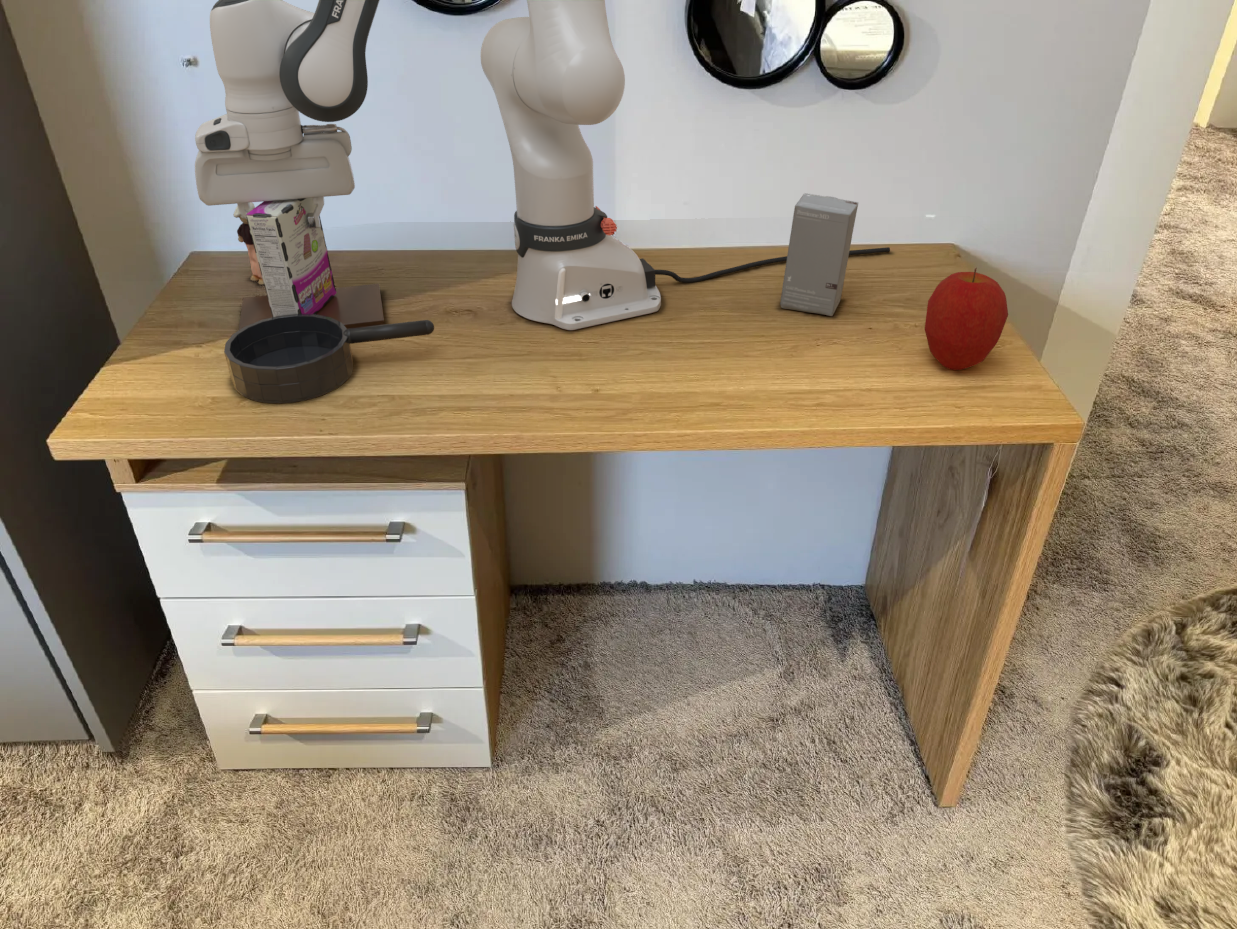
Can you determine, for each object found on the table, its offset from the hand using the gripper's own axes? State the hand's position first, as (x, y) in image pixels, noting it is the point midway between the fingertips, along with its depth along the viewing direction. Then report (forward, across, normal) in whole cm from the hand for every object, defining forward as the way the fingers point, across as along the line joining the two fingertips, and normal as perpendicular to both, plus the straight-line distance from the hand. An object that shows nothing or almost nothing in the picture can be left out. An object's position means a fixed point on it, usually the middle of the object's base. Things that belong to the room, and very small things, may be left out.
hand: (286, 229), depth 133 cm
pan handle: (+10, -12, +17) cm, 23 cm away
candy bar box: (+12, 0, 0) cm, 12 cm away
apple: (+13, -86, +36) cm, 94 cm away
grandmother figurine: (+14, +7, -16) cm, 22 cm away
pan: (+14, +1, +17) cm, 22 cm away
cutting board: (+14, -1, 0) cm, 14 cm away
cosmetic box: (+13, -74, +14) cm, 77 cm away
